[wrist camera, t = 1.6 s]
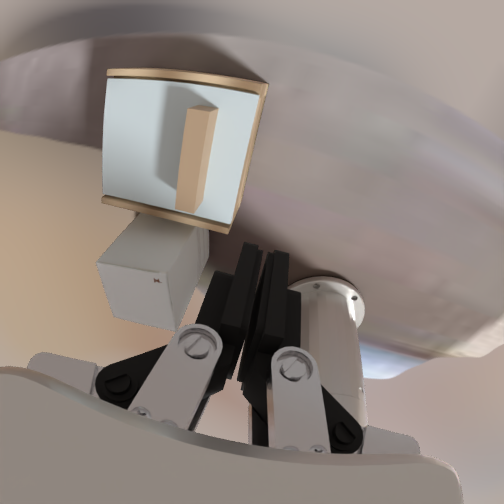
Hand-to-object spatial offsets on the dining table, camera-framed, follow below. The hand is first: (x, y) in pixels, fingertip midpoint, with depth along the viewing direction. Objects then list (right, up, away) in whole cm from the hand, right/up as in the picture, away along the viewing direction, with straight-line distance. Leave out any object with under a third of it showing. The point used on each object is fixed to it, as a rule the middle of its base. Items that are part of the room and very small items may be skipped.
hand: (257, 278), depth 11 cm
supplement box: (-9, +4, +23) cm, 25 cm away
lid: (-7, +10, +11) cm, 17 cm away
